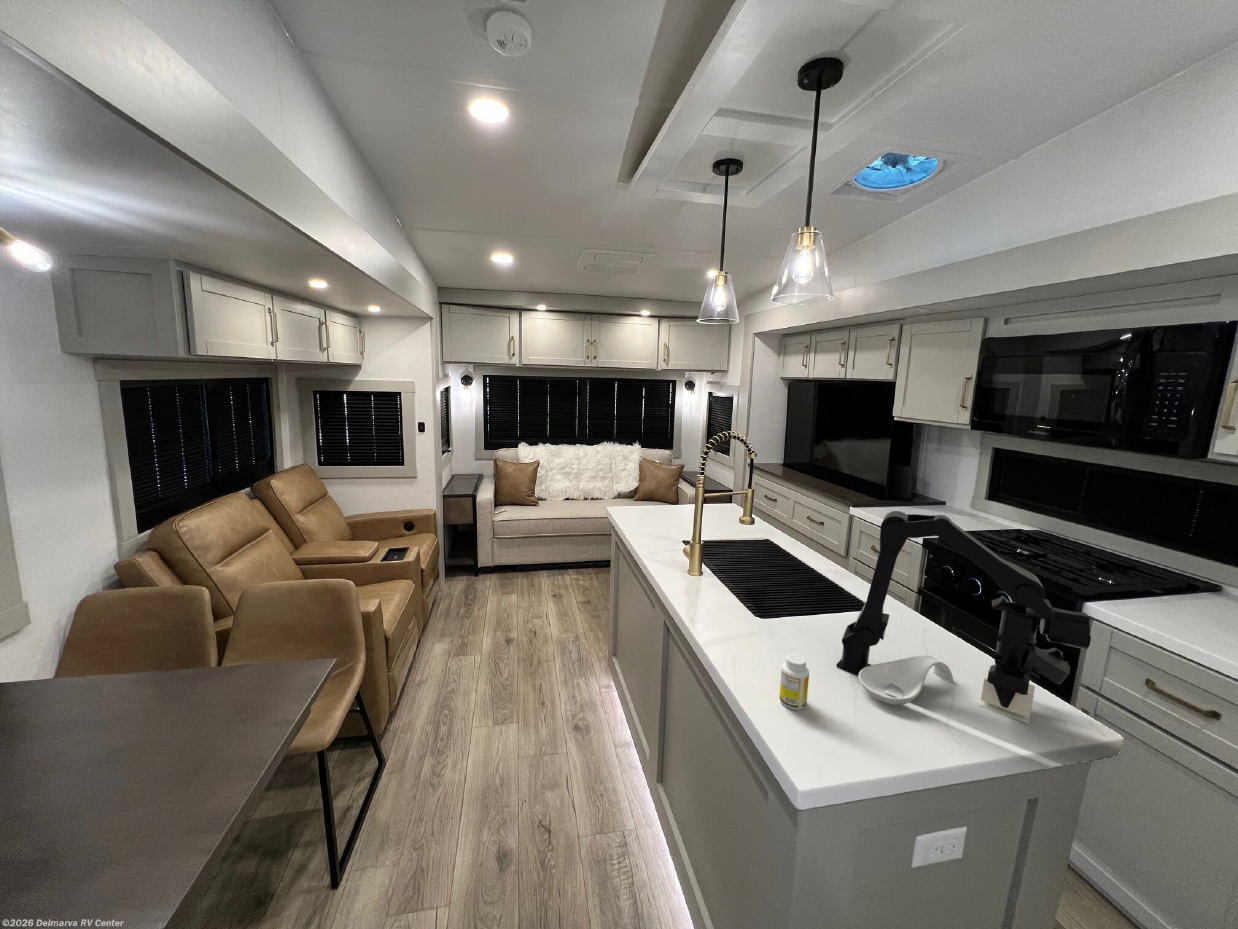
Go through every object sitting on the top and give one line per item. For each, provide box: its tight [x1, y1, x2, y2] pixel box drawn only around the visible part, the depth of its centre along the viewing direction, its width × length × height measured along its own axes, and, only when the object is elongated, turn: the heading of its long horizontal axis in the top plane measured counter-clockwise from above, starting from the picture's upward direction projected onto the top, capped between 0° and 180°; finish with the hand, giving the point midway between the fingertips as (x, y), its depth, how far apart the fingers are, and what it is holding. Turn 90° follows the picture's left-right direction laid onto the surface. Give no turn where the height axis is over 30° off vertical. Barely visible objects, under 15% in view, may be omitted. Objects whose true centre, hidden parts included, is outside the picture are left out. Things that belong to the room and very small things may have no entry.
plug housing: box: [980, 669, 1036, 719], centre depth 101 cm, size 4×8×5 cm, turn 47°
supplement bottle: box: [779, 653, 810, 711], centre depth 103 cm, size 6×6×10 cm
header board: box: [979, 699, 1030, 725], centre depth 104 cm, size 14×8×5 cm, turn 137°
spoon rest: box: [858, 654, 954, 706], centre depth 108 cm, size 24×12×7 cm, turn 111°
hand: (1005, 701), depth 101 cm, fingers closed on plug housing, 4 cm apart
